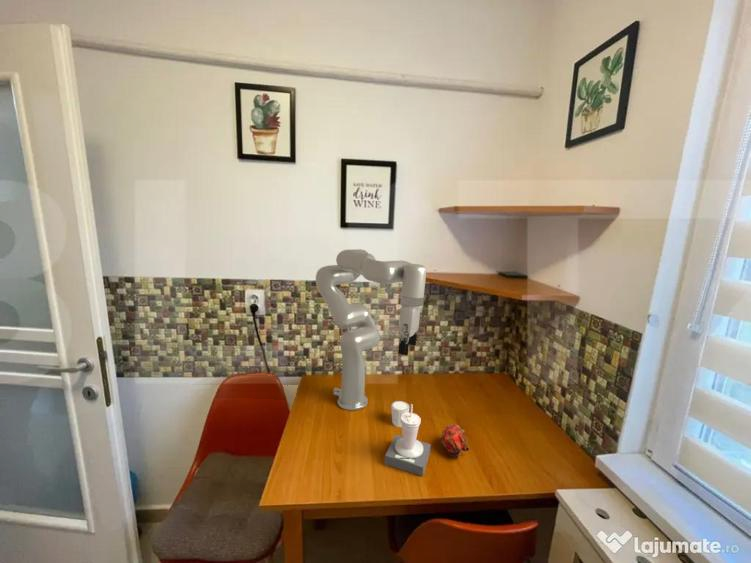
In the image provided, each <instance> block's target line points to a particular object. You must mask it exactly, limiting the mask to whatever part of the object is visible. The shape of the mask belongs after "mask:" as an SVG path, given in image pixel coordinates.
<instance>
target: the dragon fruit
mask: <svg viewBox="0 0 751 563" xmlns="http://www.w3.org/2000/svg"><path fill="white" fill-rule="evenodd" d="M441 433H442V435H441V441H440V442H441V445H442V446H443V447H444V448H445V450H446V452H447V454H448V455H450V456H451V457H454V455H455V456H456V457H457V458H458V457H460V456H462V451H463V452H468V451H469V450H470V446H467V443H466V442H467V440H468V439H467V437H466V436H464V435H465V433H466V431H465V429H462V428H461V427H460V426H459V425H458V424H453V423H452V424H451V425H447V426H445V429H442V432H441Z"/></svg>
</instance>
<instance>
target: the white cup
mask: <svg viewBox="0 0 751 563" xmlns="http://www.w3.org/2000/svg"><path fill="white" fill-rule="evenodd" d="M390 408H391V424H392V425H393V426H395V427H397V428H402V423H401V421H400V419H401V415H402V414H404V413H410V404H409V403H407V402H405V401H402V400H396V401H393V402H392V403H391V407H390Z"/></svg>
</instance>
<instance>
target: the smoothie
mask: <svg viewBox="0 0 751 563" xmlns="http://www.w3.org/2000/svg"><path fill="white" fill-rule="evenodd" d="M413 408H414V407H413V404H412V403H411V404H410V411H409V413H404V414H402V415H401V419H400V421H401V423H402V427H401V432H402V433H401V436H402V437H403V447H404V448H405V449H407V450H412V449H414V447H415V443H416V440H417V436H418V432H419V428H420V425H421V423H422V422H421V420H422V419H421V417H420V416H419V415H418V414H417V413H414V412H413Z"/></svg>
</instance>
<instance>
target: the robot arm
mask: <svg viewBox="0 0 751 563" xmlns="http://www.w3.org/2000/svg"><path fill="white" fill-rule="evenodd" d="M335 261H336V264H335V265H334V264H333V265H325V266H322V267H320V268H319V269H318V270H317V272H316V274H315V285H316V288H317V290H318V292H319V294H320V295H321V297H322V299H323V300H324V301H325V304H326V306H327V308H328V311H329V313H330V315H331V318H332V319H333V320H332V321H334V323H335V325H336V327H337V328H338V329H340V330H345V329H349V330H347V331H345V332H343V334H342V335H341V337H340V339H339V341H340V342H339V344H340V348H341V350H340V351H341V358H342V360H341V361H342V362H341V364H342V365H341V388H339V387H336V386H335V387H334V388H333V395H334V396H337V397H338V398H337V404H338V406H339V407H340V408H341V409H344V410H346V411H359V410H362V409H363V408H365V407H366V406H368V403H369V402H368V401H369V400H368V397H367V396H366V395H365V389H366V388H365V387H366V386H365V383H366V381H365V380H366V359H365V357H364V355H363V352H364V351H366V350H370V349H373V348H375V347H377V346H378V345H379V343H380V340H381V335H380V331H379V329H378V327H377V325H376V323H375V321H374V319H373V317H372V315H371V313H370V310H369V308H367V307H366V305H365V304H363V303H352V304H350V303H349V301H348V299H347V298H346V295H345V293H343V291H341V290H340V289H339V288H338V287H337V286H339V285H347V284H352V283H353V282H354V281H356V280H357V279H358V278H360V276H362V277H363V278H364V279H365V280H367V281H370V282H373V283H376V284H381V285H388V284H396V283H402V284H401V294H400V303H399V304H400V306H401V309H400V311H399V312H400V313H399V318H398V326H397V331H396V332H397V335H399V340H398V351H397V353H398V354H399V355H403V356H408V355H409V348H410V346H414V347H415V346H416V345H417V339H418V330H419V326H420V320H421V319H420V317H421V316H420V315H421V308H423V307H424V300H425V289H426V288H425V287H426V277H427V268H426V266H425V265H423V264H419V263H411V262H409V261H406V260H387V261H386V260H385V261H383V260H376V257H375V255H373V254H371V253H369V252H367V251H366V250H365V249H360V248H357V249H356V248H355V249H344V250H342V251H340V252H339V253H338V254H337V255H336V260H335ZM353 327H356V328H353ZM350 328H352V329H350Z"/></svg>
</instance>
